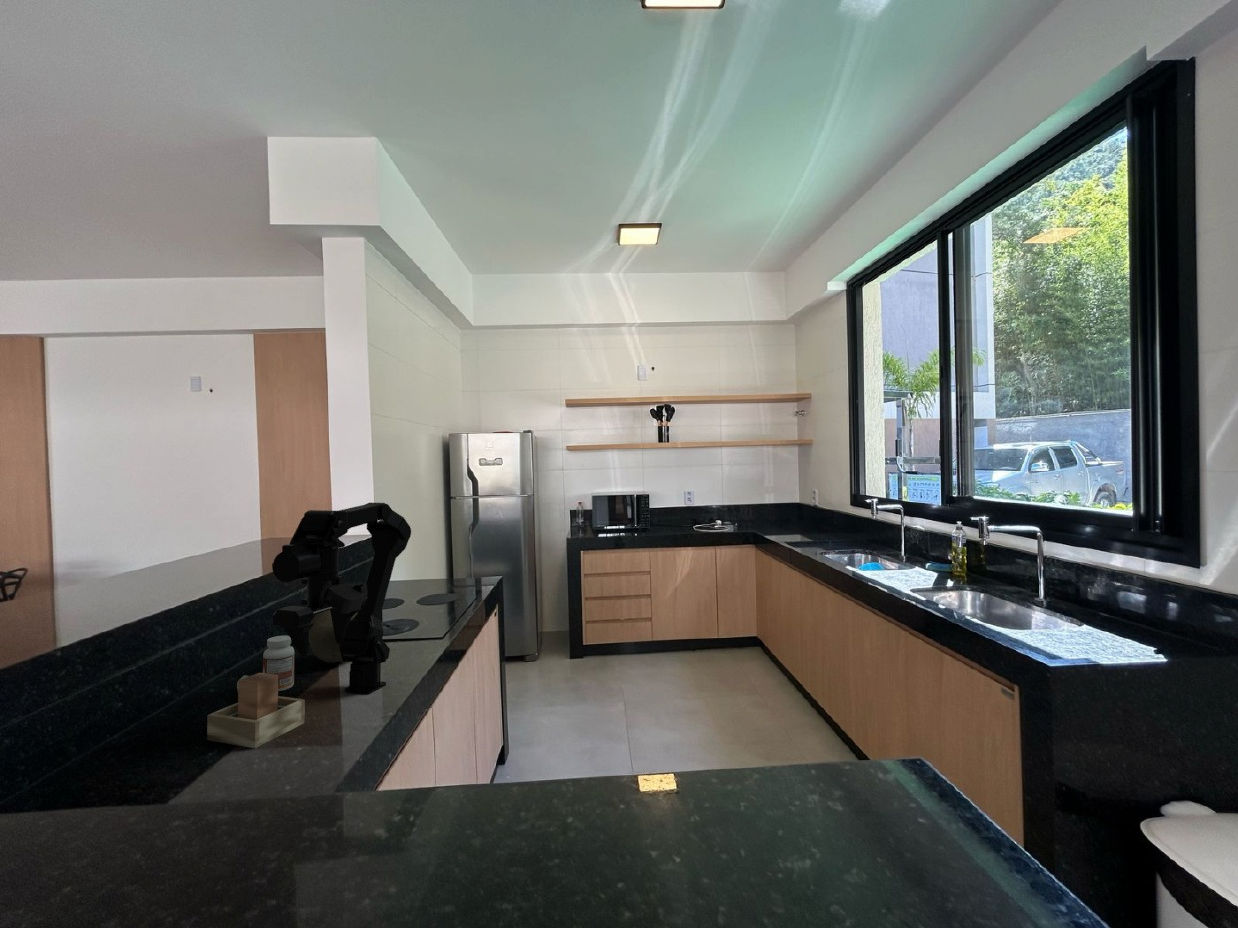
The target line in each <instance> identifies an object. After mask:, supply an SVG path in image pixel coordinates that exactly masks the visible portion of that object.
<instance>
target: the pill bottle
mask: <svg viewBox="0 0 1238 928" xmlns="http://www.w3.org/2000/svg"><path fill="white" fill-rule="evenodd" d="M266 641H267V642H266V647H267V648H266V650H264V652H263V656H262V673H266V674H274V675H278V692H283V691H286V690H289V689H291V688H292V687H293V686H294V684H295V649H294V647H293V646H291V644H292V640H291V638H290V637H289V635H277V636H273V637H270V638H268V639H267V640H266Z"/></svg>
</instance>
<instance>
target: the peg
mask: <svg viewBox="0 0 1238 928" xmlns="http://www.w3.org/2000/svg"><path fill="white" fill-rule="evenodd" d="M248 676H249V677H246V678H244V679H241V678H240V679H241V680H240V679H238V681H237V682H238V690H237V694H238V695H237V703H238V718H245V719H251V720H257V719H260V718H262V717H264V716H266V715H268V714H270V713H273V712H275V711H277V710H278V696H279V691H278V675H274V674H266V673H263V672H257V673H255V674H252V675H248Z"/></svg>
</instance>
